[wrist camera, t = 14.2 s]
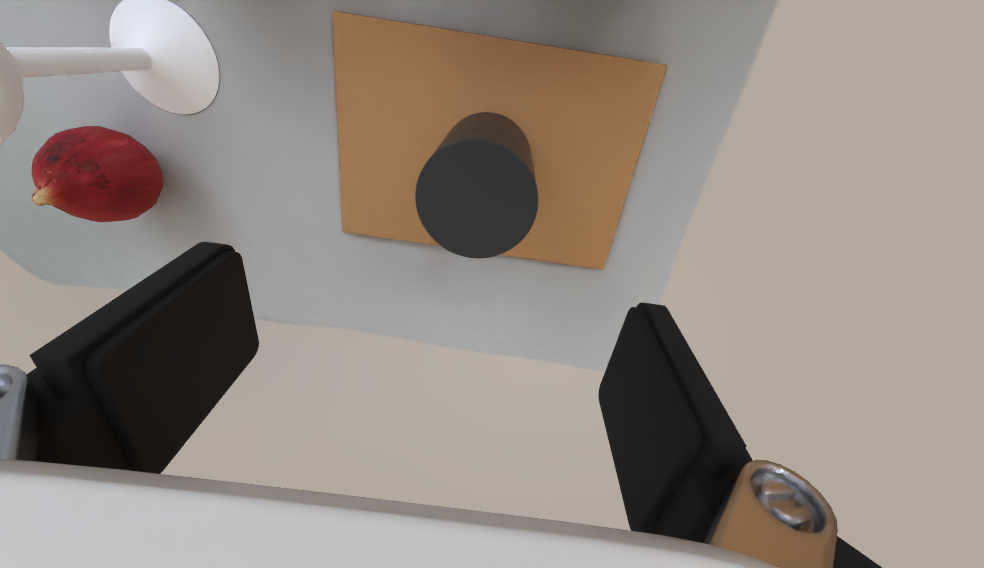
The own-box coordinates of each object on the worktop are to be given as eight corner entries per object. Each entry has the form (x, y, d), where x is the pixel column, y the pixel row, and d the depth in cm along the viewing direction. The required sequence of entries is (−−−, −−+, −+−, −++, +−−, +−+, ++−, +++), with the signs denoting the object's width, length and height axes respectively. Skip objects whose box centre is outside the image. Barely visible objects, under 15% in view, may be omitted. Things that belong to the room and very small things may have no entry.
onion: (97, 108, 28) (-42, 127, 21) (185, 131, 28) (78, 158, 21) (114, 189, 31) (-4, 230, 24) (193, 209, 31) (102, 255, 24)
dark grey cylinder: (439, 196, 29) (412, 249, 21) (446, 105, 26) (417, 129, 18) (522, 208, 29) (526, 266, 22) (539, 119, 26) (550, 149, 19)
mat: (345, 229, 31) (342, 231, 31) (335, 11, 24) (332, 10, 24) (602, 266, 32) (603, 270, 31) (664, 64, 25) (667, 65, 24)
